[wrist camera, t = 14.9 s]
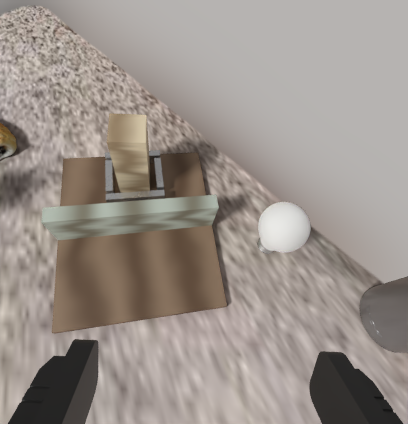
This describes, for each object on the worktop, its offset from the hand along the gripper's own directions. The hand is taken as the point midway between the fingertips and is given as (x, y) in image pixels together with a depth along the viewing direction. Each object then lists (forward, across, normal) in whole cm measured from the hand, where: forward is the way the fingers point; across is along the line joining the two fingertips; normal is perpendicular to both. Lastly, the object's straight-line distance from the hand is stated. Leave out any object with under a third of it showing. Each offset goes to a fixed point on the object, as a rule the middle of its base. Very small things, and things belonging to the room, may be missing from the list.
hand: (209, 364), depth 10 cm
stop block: (+37, +8, +2) cm, 38 cm away
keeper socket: (+38, +9, +3) cm, 39 cm away
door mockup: (+32, +7, +8) cm, 34 cm away
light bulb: (+31, -13, +9) cm, 35 cm away
